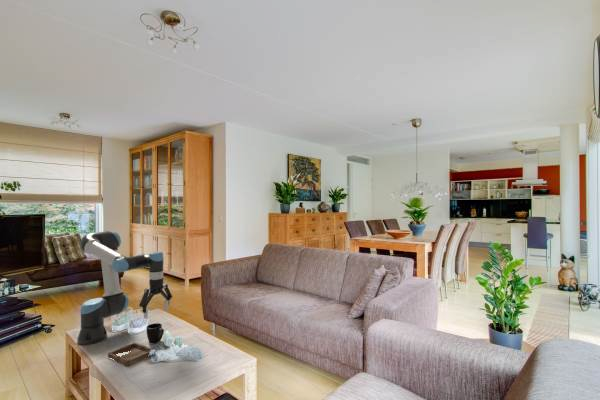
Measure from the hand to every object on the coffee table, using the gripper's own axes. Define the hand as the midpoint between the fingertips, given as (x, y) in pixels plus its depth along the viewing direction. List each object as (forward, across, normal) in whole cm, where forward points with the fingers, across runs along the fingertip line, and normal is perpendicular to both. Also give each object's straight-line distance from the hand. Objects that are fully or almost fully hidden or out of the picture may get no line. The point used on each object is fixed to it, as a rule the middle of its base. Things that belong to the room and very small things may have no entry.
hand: (156, 314), depth 185 cm
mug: (+17, 0, 0) cm, 17 cm away
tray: (+17, -17, -3) cm, 24 cm away
